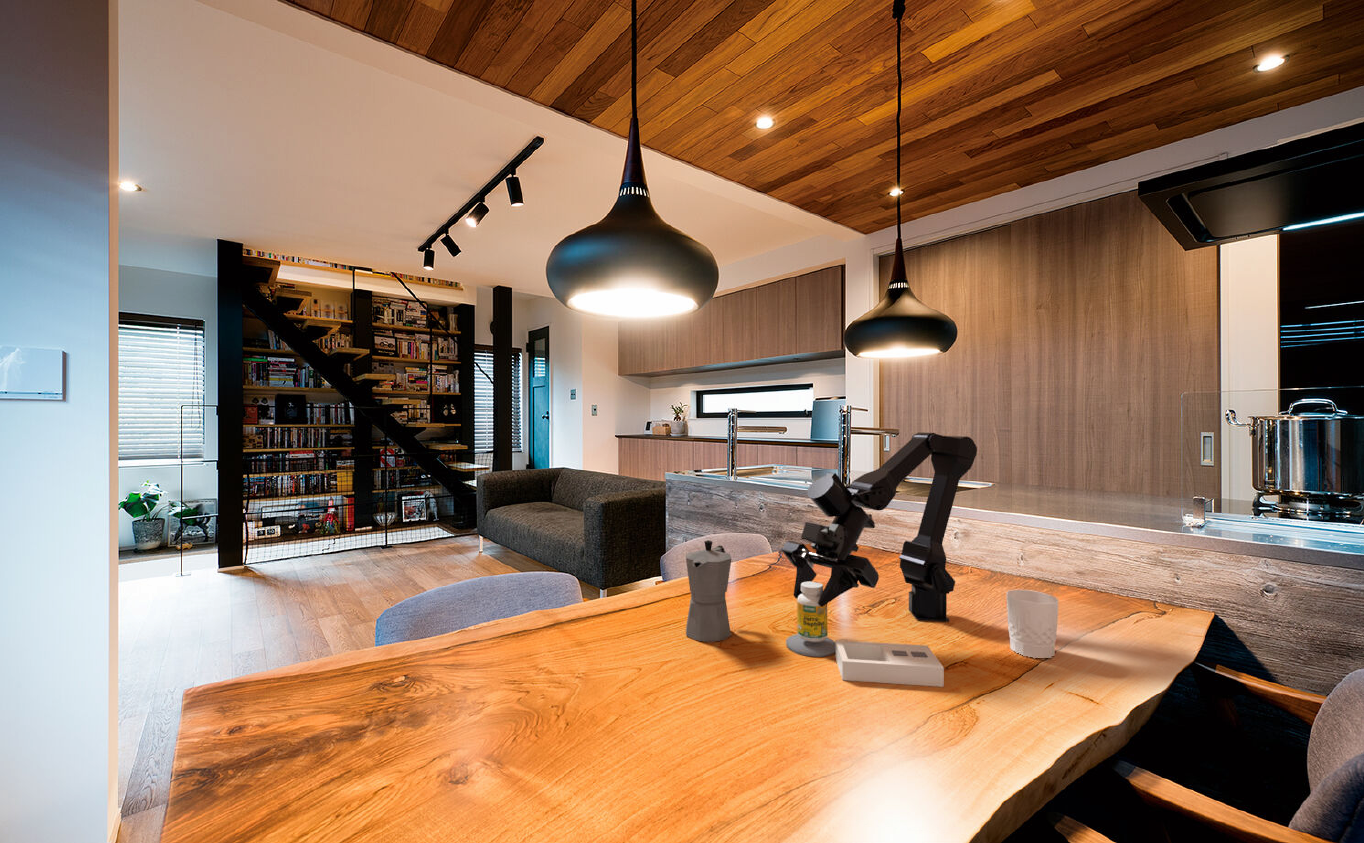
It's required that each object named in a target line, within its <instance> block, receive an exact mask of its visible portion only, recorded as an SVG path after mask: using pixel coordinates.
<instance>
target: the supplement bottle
mask: <svg viewBox="0 0 1364 843" xmlns="http://www.w3.org/2000/svg"><path fill="white" fill-rule="evenodd" d="M823 590H824V585H823V583H821V582H818V581H812V582H810V581H809V582H803V583H801V592H802V594H800V595H799V596H798V598H796V599H797V601H796V602H797V604H796V605H797V607H796V608H797V634H798V636H799V637H800V638H802V639H803V640H806V641H812V642H819V641H823V640H825V639H826V638H827V637H828V629H829V628H828V603H827V604H826V605H824V606H823V607H821V606H820V605H819V604H818V602H819V599H820V597H821V594H822V592H823Z"/></svg>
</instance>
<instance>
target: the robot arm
mask: <svg viewBox="0 0 1364 843" xmlns="http://www.w3.org/2000/svg"><path fill="white" fill-rule="evenodd" d="M977 453H978V446H977V444H976V443H975V441H974V439H972V438H971V437H970V436H963V435H941V434H939V433H936V432H922V431H921V432H917V433H914V434H913V435H912V436H911V438H910V440H909V441H908V442H907V443H906V444H904V445H903V446H902V447H901V448H900V449H899V450H897V452H895V454H894V455H892V456H891V457H890V458H889V459H888V460H887V461H885V462H884V463H883V464H882V465H881V466H880V467H879V468H876V469H875V470H872V471H869V472H867V473H864V474H862V475H861V476H859V477H857V478H855V479H854V480H853V481H852V482H851V483H850V484H849V485H848V484H847V485H845V483H843V481H842V480H841V478H840V477H839V476H838V474H836V472H828V473H826V475H825V476H822V477H819V478H818V479H817V480H815V481H814V482H812V483H811V484H810V485H809V488H808V489H807V493H806V494H807V496H808V498H809V499H810V500H811V501H812V502H813V503H814V504H815V506H817V508H818V509H819V510H820V511H821V512H822V513H823V515H825V517H826V516H827V517H828V518H833V517H834V518H833V520H832V522H831V523H830V524H829V526H828V525H824V524H818V523H812V522H807V521H805V522H804V525H803V526H804V527H803V529H802V533H801V537H800V538H801V539H802V540H803V541H805V540H806V541H808V542H809V543H811V544H810V545H809V546H810V547H811V548H812V550H815V553H814V552H811V550H809V549H808V547H807V546H806V545H805V544H804V543H803V542H802V543H800V542H796V541H792V540H788V541H785V543H784V545H783V547H782V548H781V550H780V552H782V553H783V555H784V556H785V557H786V558H787V560H788V561H789V562H790V563H791V564H792V566H793V567H795V568H796V573H795V574H796V575H795V583H794V587H793V588H794V589H793V598H795V599H797V598H798V596H799V595H800V594H802V592H801V583H803V582H809V581H810V582H814V580H815V578H816V577H817V575H818V574H817V573H816V571H815V570H814V569H813V568H814V566H815V565H817V566H822V567H825V568H830V570H831V572H830V573H831V574H830V577H829V578H828V581H827V583H826V585H825V587H823V592H822V594H821V597H820V599H819V602H818V604H819V605H820V606H821V607H823V606H824V605H826V604H827V605H828V604H829V603H830V602H832V601H834V599H836V598H837V597H839V596H840V595H842V594H844V593H846V592H848V591H849V590H852V589H853V588H859V585H860V586H864V587H868V588H870V589H871V588H872V589H874V588H876V586H877V584H878V582H879V580H880V579H879V573H878V571H877V569H876V567H874V565H873V563H871V561H870V559H869V558H868V557H864V556H860V555H859V556H858V555H855V554H852V552H854V553H855V552H856V553H857V552H858V550H859V549H860V548H859V546H858V545H857V543H858V540H859V539H860V537H861V535H862V533H863V532H864V530H865V529H875V527H876V524H875V522H874V519H873V516H872V514H871V513H867V512H866V510H864V509H868V510H872V511H880V512H881V511H883V510H884V509H886V508H887V507H888V506H889V504H890V503H891V502H892V501H893V499H894V498H895V497H896V494H897V487H898V486H899V485H900V484H901V483H902V482H903V481H904V480H905V479H906V478H907V477H908V476H909V475H910V474H911V473H913V472H914V471H915V470H916V469H917V468H918V467H919V466H920V465H921V464H922V463H923V462H925V461H926V459H928V458H929V456H931V457H930V462H931V465H932V468H933V472H934V475H933V478H932V480H931V485H930V489H929V491H928V492H929V493H928V494H927V495H928V496H927V499H926V503H925V506H924V509H923V513H922V518H921V521H920V525H919V527H918V528H919V529H918V532H917V535H916V537H915V538H913V539H912V540H911V541H909V540H905V541H904V543H903V544H902V550H901V554H900V555H899V557H898V559H899V560H900V561H899V568H900V570H901V572H902V575H903V579H904V582H905V583H906V584H910V585H911V591H909V592H908V611H909V612H910V613H911V614H912V616H913V617H914V618H915V620H916V621H926V622H944V623H945V622H946V623H947V622H948V623H949V622H950V618H949V617H948V615H947V613H948V611H947V609H948V608H947V605H948V604H947V599H948V597H947V595H948V594H950V593H951V592H954V590H955V586H956V580H955V579H954V578H953V576H951V574H950V573H949V572H948V570H947V569H946V566H947V565H946V564H947V556H946V553H945V550H944V545H943V542H944V539H945V538H944V537H945V534H946V531H947V526H948V524H949V518H950V517H951V512H952V508H953V504H954V501H955V498H956V494H957V490H958V486H959V484H960V480H961V478H962V477H963V476H964V475H965V474H966V473H968V471H970V470H971V469H972V466H973V464H974V461H975V459H976V456H977V455H978V454H977Z"/></svg>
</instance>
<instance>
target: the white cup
mask: <svg viewBox="0 0 1364 843" xmlns="http://www.w3.org/2000/svg"><path fill="white" fill-rule="evenodd" d="M1005 593H1006V594H1005V595H1006V611H1007V612H1006V613H1007V626H1008V634H1009V646H1010V650H1011V651H1013V652H1014V651H1015V652H1016V653H1015V652H1014V653H1015V654H1017V653H1019V654H1018V655H1020V654H1021V655H1020V656H1022V655H1023V657H1026V656H1028V657H1027V658H1030V657H1033V658H1032V659H1035V658H1051V657H1052V656H1054V657H1055V652H1056V651H1055V650H1056V648H1055V647H1056V641H1057V631H1058V617H1059V599H1058V598H1057V597H1056V596H1054V595H1051V594H1050V593H1049V594H1048V593H1045V592H1042V591H1037V590H1030V589H1010V590H1007V591H1006V592H1005ZM1052 658H1053V657H1052ZM1052 658H1051V659H1052Z"/></svg>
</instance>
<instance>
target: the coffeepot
mask: <svg viewBox="0 0 1364 843" xmlns="http://www.w3.org/2000/svg"><path fill="white" fill-rule="evenodd" d="M712 546H713V540H705V541H704V547H705V549H701V550H696V551H693V552H688V553H685V562H686V570H687V576H688V577H687V578H688V584H689V592H690V600H689V605H688V606H689V607H688V612H687V618H686V619H687V620H686V625H685V636H686V637H688V638H690V639H691V640H694V641H696V640H698V641H697V642H701V641H703V643H715V642H716V641H718V642H721V640H722V641H725V640H727V639H728V638H730V637H731V636H732V635H731V634H732V633H731V627H730V620H729V613H728V608H727V607H728V606H727V600H726V593H727V592H728V584H729V580H730V579H729V577H730V571H731V565H732V556H731V553H729V552H726V551H725V548H724V546H723V545H717V546H716V547H713V548H712Z"/></svg>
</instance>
